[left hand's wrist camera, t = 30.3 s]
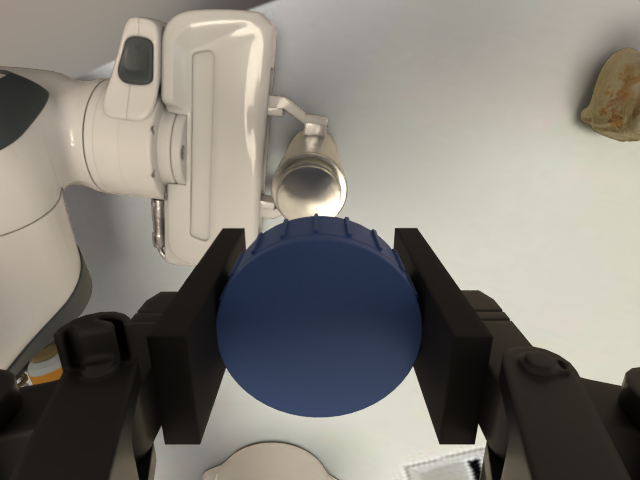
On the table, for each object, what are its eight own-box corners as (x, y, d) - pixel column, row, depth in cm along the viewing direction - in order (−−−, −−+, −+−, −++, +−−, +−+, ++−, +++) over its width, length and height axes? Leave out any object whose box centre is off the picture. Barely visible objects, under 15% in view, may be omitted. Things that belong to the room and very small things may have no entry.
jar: (342, 165, 39) (360, 220, 23) (299, 181, 40) (286, 247, 23) (326, 120, 38) (333, 144, 21) (282, 137, 38) (254, 174, 22)
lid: (271, 181, 11) (261, 199, 9) (443, 260, 12) (466, 291, 10) (204, 335, 12) (184, 377, 11) (358, 395, 13) (363, 444, 11)
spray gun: (17, 429, 52) (-73, 341, 48) (114, 381, 48) (25, 280, 44) (-11, 458, 48) (-112, 364, 44) (92, 408, 44) (-8, 299, 40)
